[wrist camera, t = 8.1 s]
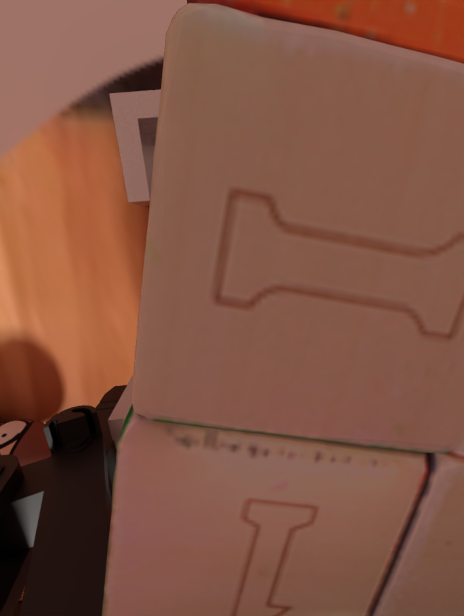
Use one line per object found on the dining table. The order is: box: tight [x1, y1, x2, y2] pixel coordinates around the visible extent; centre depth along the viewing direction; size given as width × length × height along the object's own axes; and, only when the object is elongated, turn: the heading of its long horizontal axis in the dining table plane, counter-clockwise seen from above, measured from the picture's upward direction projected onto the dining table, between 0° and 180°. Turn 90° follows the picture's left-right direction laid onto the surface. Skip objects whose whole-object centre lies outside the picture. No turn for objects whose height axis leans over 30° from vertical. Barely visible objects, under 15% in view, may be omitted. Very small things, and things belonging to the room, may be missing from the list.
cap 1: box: [110, 90, 161, 207], centre depth 17 cm, size 11×5×4 cm, turn 95°
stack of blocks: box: [102, 0, 464, 616], centre depth 10 cm, size 21×6×12 cm, turn 168°
